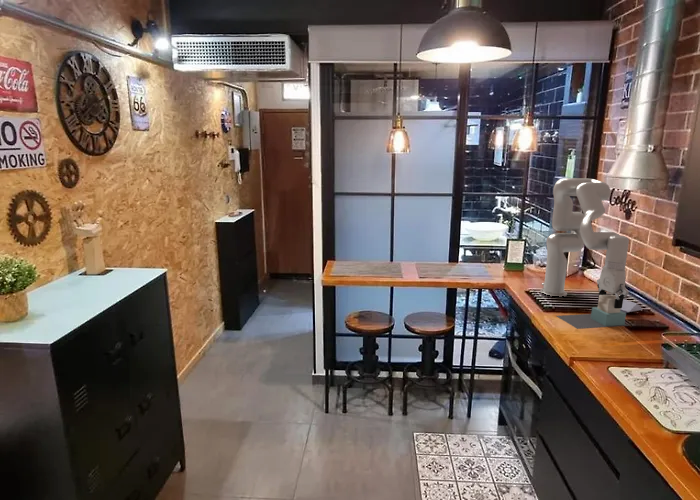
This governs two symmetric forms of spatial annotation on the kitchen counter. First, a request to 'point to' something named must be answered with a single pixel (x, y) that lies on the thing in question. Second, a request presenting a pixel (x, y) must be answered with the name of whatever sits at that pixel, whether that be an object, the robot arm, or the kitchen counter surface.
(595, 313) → the plinth
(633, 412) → the kitchen counter surface
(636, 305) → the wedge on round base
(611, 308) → the cream cube
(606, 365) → the kitchen counter surface
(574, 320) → the mat
